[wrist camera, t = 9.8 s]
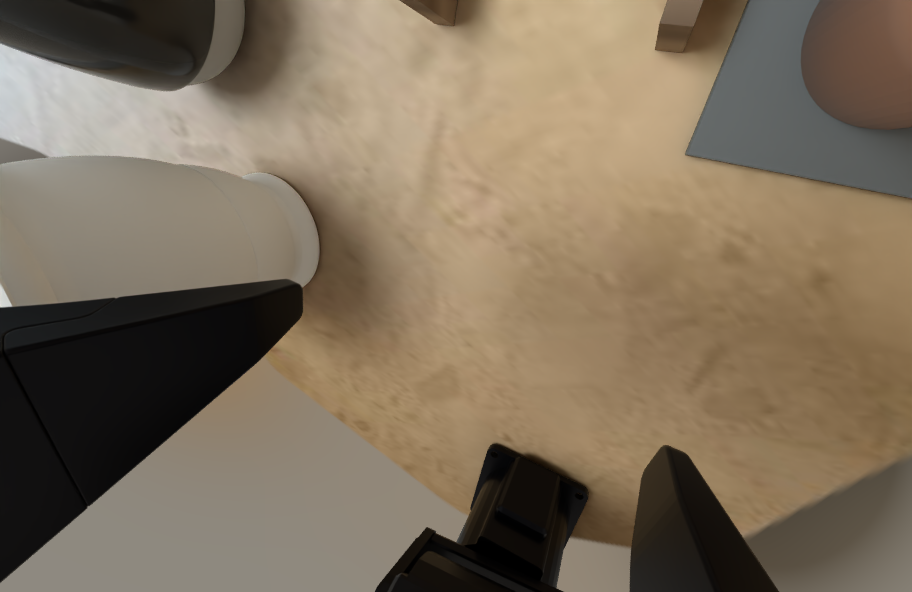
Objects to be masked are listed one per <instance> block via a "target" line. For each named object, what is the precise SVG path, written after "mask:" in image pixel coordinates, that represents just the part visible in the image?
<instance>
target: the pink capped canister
mask: <svg viewBox="0 0 912 592" xmlns="http://www.w3.org/2000/svg"><path fill="white" fill-rule="evenodd" d="M801 70H802V76H803V80H804V83H805V86H806V88H807V90H808V92H809V94H810V96H811V97H812V99H813V100H814V101H815V103H816V104H817V105H818V106H819V107H820V108H821V109H822V110H823V111H825V112H826V113H827V114H829V115H831V116H832V117H834V118H835V119H837V120H840V121H842V122H844V123H846V124H850V125H853V126H857V127H861V128H868V129H879V130H893V129H906V128H912V0H820V1H819V3H818V5H817V6H816V8H815V10H814V12H813V14H812V16H811V18H810V21H809V23H808V26H807V29H806V32H805V35H804V39H803V44H802V48H801Z"/></svg>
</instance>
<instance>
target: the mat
mask: <svg viewBox="0 0 912 592" xmlns="http://www.w3.org/2000/svg"><path fill="white" fill-rule="evenodd" d="M819 1H820V0H748V2H747V5H746V7H745V9H744V12H743V14H742V17H741V19H740V22H739V24H738V26H737V29H736V31H735V34H734V36H733V39H732V41H731V43H730V46H729V48H728V51H727V53H726V56H725V58H724V60H723V63H722V65H721V68H720V70H719V73H718V75H717V77H716V80H715V82H714V85H713V87H712V90H711V92H710V94H709V97H708V99H707V102H706V104H705V107H704V109H703V111H702V114H701V116H700V119H699V121H698V124H697V126H696V128H695V131H694V133H693V136H692V138H691V141H690V143H689V145H688V148H687V150H686V153H685V155H690V156H695V157H700V158H705V159H710V160H715V161H721V162H726V163H731V164H736V165H741V166H746V167H752V168H757V169H762V170H767V171H772V172H777V173H783V174H788V175H793V176H798V177H803V178H808V179H813V180H819V181H824V182H829V183H834V184H839V185H844V186H850V187H855V188H860V189H865V190H870V191H875V192H881V193H886V194H891V195H896V196H901V197H906V198H911V199H912V128H906V129H893V130H879V129H868V128H861V127H857V126H853V125H850V124H846V123H844V122H842V121H840V120H837V119H835V118H834V117H832V116H831V115H829V114H827V113H826V112H825V111H823V110H822V109H821V108H820V107H819V106H818V105H817V104H816V103H815V101H814V100H813V99H812V97H811V96H810V94H809V92H808V90H807V88H806V86H805V83H804V80H803V76H802V70H801V48H802V44H803V39H804V35H805V32H806V29H807V26H808V23H809V21H810V18H811V16H812V14H813V12H814V10H815V8H816V6H817V5H818V3H819Z"/></svg>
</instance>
